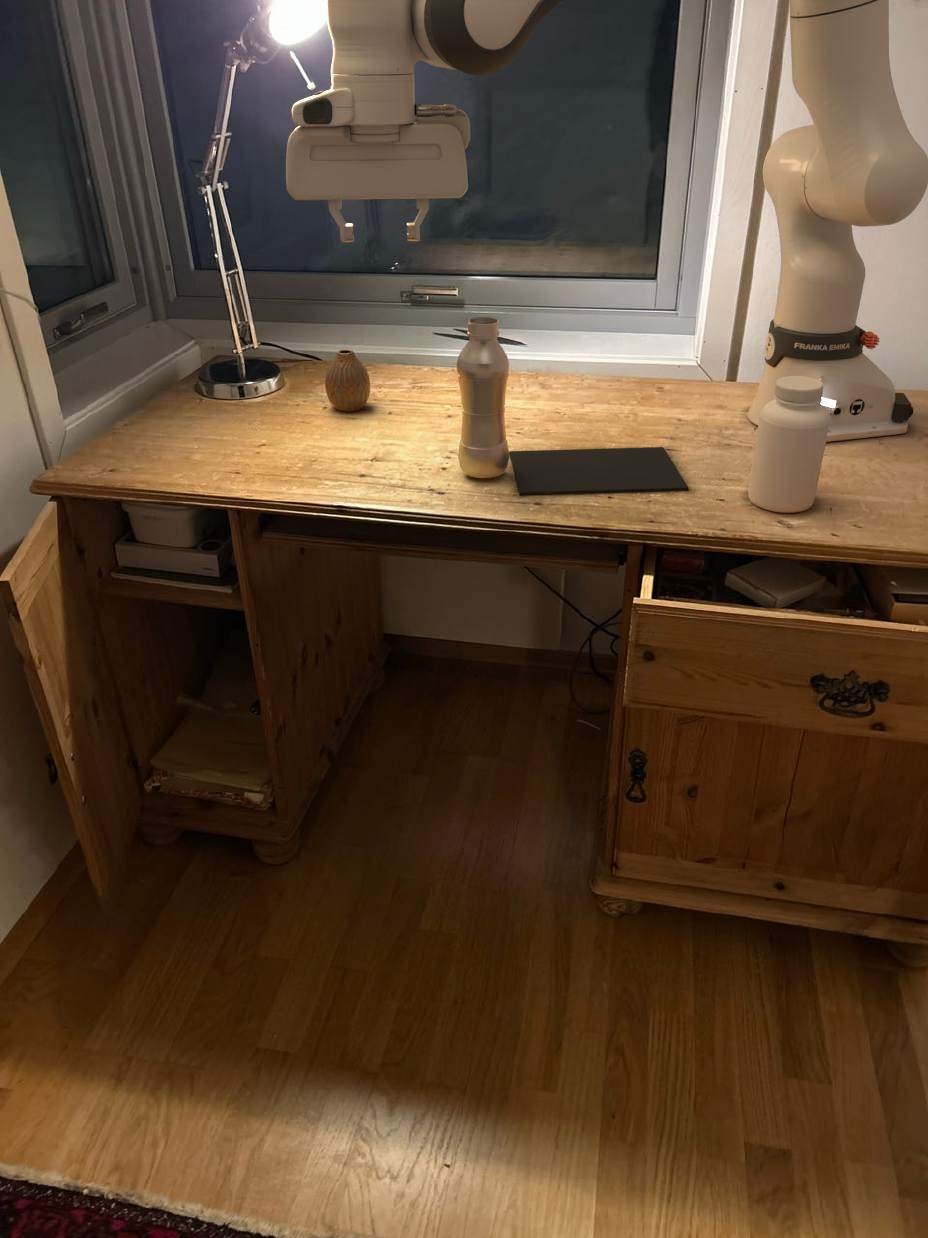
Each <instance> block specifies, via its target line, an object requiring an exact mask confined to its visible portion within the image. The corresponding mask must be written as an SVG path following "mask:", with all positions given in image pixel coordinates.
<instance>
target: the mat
mask: <svg viewBox="0 0 928 1238" xmlns="http://www.w3.org/2000/svg"><path fill="white" fill-rule="evenodd" d="M509 460H510V462H511V467H512V471H513V474H514V479H515V483H516V487H517V490H518V495H519V496H540V495H541V496H542V495H543V496H544V495H575V494H576V495H577V494H578V495H579V494H607V493H608V494H609V493H610V494H611V493H612V494H613V493H614V494H615V493H644V492H676V491H677V492H678V491H680V492H681V491H689V486H688V484H687V483H686V481H685V479H684V478H683V476H682V475H681V474H680V471H679V470H678V468H677V467H676V465H675V464H674V462H673V461H672V459H671V457H670V456H669V454H668V452H667V451H666V449H665V448H664V446H650V447H644V446H643V447H615V448H614V447H613V448H609V447H608V448H579V449H577V448H576V449H573V448H572V449H542V450H541V449H537V450H509Z"/></svg>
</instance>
